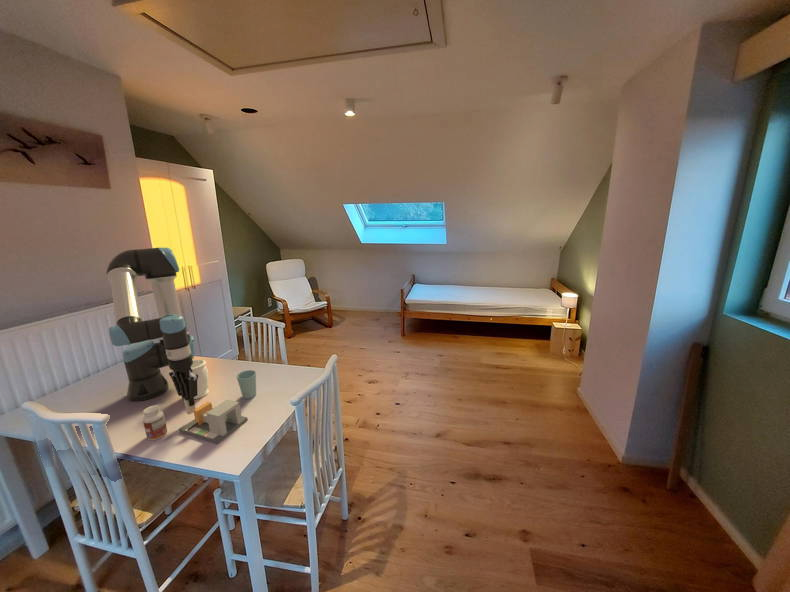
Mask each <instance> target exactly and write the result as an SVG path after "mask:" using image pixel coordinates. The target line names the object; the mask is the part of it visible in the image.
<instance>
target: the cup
mask: <svg viewBox="0 0 790 592" xmlns="http://www.w3.org/2000/svg"><path fill="white" fill-rule="evenodd" d="M236 380H237V382H238V383H237V384H238V385H239V390H240V392H241V396H242V398H243V399H245V400H249V399H252V398H254V397H255V396H256V395H257V373H256V371H255V370H252V369H249V370H244V371H241V372H239V373H237V375H236Z"/></svg>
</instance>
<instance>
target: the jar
mask: <svg viewBox="0 0 790 592" xmlns="http://www.w3.org/2000/svg"><path fill="white" fill-rule="evenodd" d="M192 360H193V364H192V365H191V369H192V371H193V372H192V373H193V374H194V375H196V374H197V375H198V379H197V396H195V397H194V400H196V399H197V400H198V399H201V398H203V397H205V396H207V395H208V394H209V392H210V390H209V382H210V381H209V370H208V368H207V362H206V360H205V359H199V358H198V359H192Z"/></svg>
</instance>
